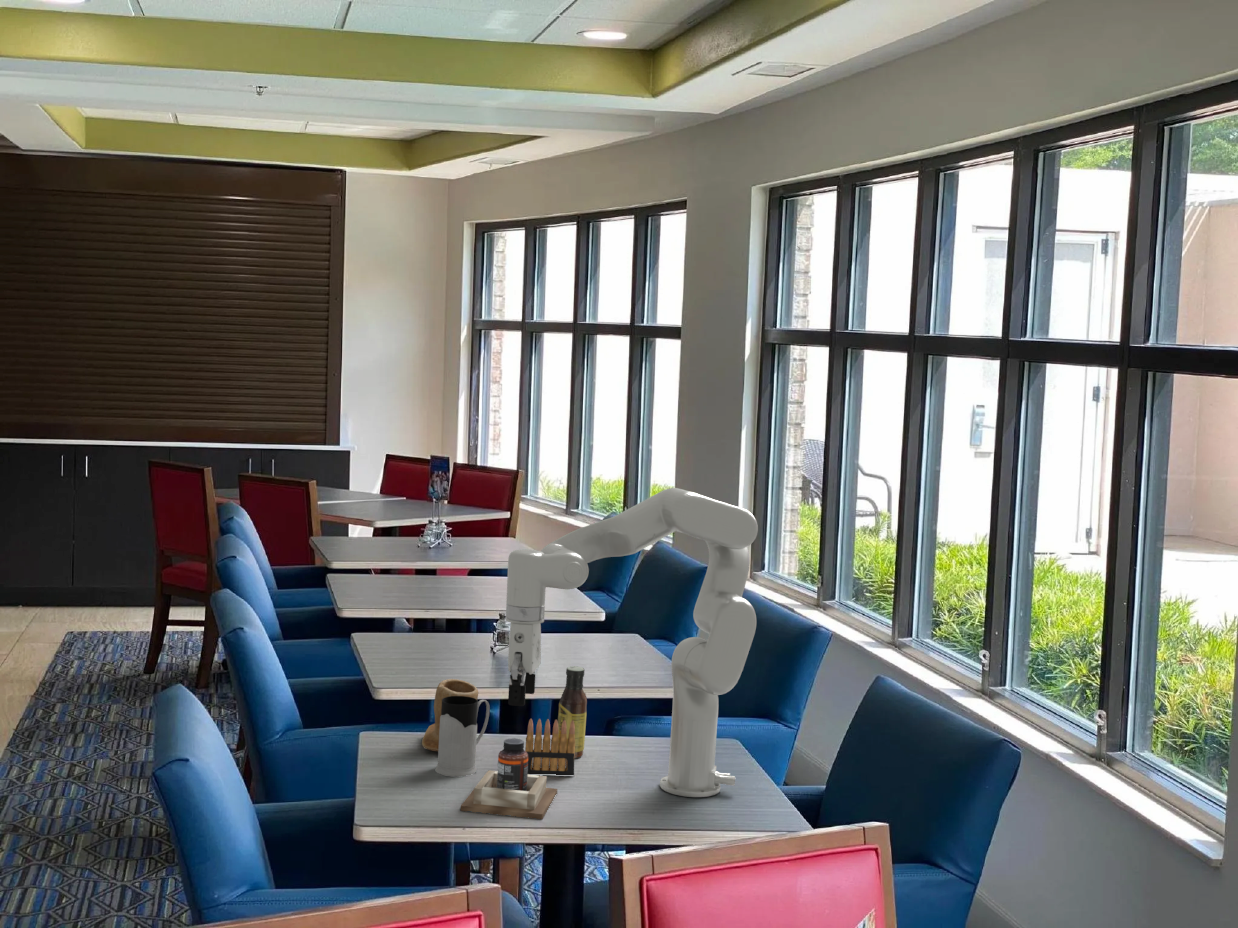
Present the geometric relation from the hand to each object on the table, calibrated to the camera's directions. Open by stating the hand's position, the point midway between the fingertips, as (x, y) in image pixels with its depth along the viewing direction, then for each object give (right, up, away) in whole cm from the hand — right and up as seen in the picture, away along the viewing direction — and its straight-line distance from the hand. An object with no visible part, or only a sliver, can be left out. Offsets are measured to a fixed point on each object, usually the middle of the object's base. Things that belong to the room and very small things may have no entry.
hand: (521, 699), depth 263 cm
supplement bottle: (-2, -20, +1) cm, 20 cm away
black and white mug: (-14, -18, +21) cm, 31 cm away
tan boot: (-19, -17, +36) cm, 44 cm away
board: (-2, -20, +1) cm, 21 cm away
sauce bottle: (+8, -19, +35) cm, 40 cm away
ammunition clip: (+4, -20, +20) cm, 28 cm away
